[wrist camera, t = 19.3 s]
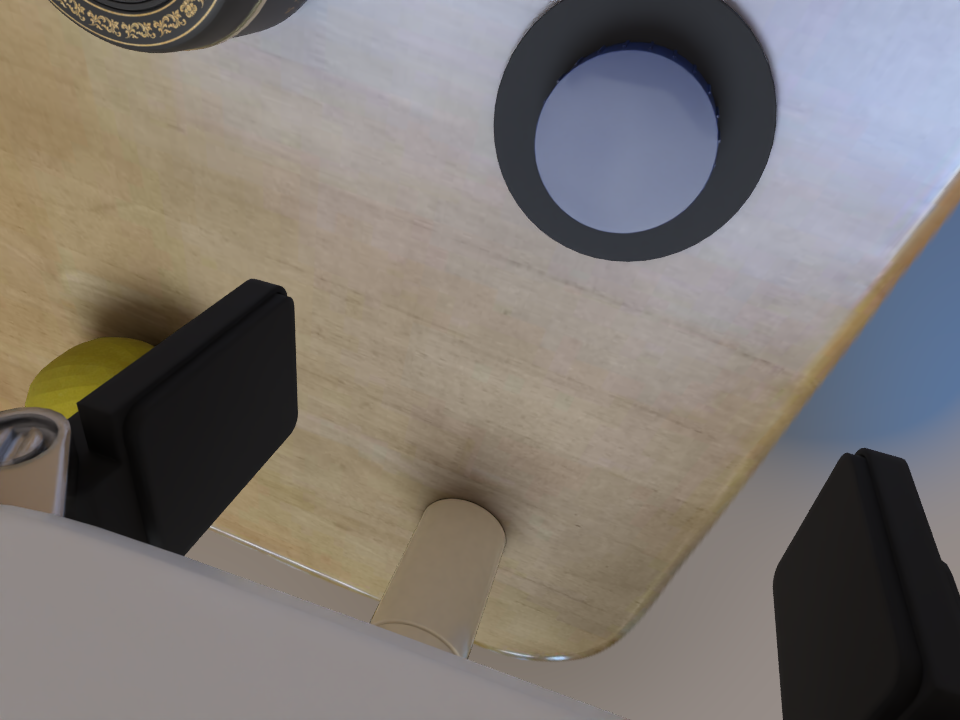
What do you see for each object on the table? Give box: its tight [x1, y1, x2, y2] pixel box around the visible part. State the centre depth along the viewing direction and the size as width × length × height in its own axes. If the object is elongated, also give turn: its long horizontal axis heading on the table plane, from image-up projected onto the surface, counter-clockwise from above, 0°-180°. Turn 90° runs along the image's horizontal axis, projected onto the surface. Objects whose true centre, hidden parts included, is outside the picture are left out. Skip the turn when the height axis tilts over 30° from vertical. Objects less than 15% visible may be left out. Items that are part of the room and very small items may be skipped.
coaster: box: [494, 0, 776, 262], centre depth 27 cm, size 11×11×1 cm
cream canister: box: [370, 499, 506, 659], centre depth 38 cm, size 6×6×11 cm
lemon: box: [25, 337, 155, 419], centre depth 39 cm, size 11×8×8 cm
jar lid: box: [534, 40, 721, 234], centre depth 26 cm, size 7×7×2 cm
